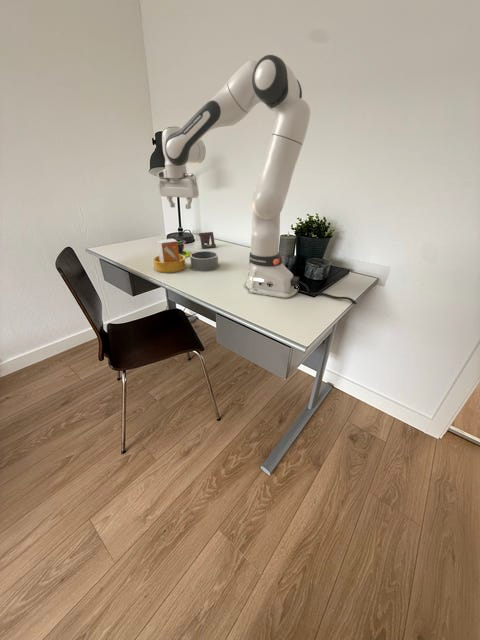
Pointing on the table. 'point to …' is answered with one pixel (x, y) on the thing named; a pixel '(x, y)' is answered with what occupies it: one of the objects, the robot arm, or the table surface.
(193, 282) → the table surface
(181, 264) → the bowl
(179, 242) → the toy cauldron
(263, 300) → the table surface
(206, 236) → the tablet stand
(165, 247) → the small box
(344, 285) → the table surface
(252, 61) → the robot arm
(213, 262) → the pot
